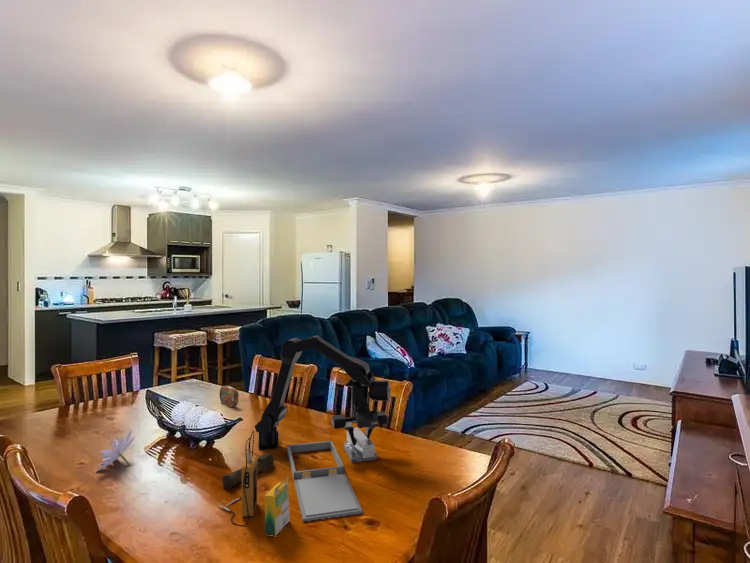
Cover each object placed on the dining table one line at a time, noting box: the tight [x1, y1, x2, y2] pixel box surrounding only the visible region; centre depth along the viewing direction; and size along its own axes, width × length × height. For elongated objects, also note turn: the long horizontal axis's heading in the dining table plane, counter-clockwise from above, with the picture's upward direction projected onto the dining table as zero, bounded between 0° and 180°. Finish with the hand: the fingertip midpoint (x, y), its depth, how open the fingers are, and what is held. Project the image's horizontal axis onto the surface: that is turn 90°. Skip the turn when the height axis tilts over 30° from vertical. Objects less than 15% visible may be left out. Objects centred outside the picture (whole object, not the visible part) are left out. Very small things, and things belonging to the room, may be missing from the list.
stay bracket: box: [343, 441, 378, 463], centre depth 157 cm, size 8×12×2 cm
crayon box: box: [263, 475, 290, 537], centre depth 112 cm, size 7×3×12 cm, turn 163°
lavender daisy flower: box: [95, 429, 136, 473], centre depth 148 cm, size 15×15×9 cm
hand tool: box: [222, 453, 275, 490], centre depth 140 cm, size 19×4×5 cm, turn 145°
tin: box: [219, 385, 239, 408], centre depth 213 cm, size 15×3×8 cm, turn 43°
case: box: [286, 440, 363, 522], centre depth 139 cm, size 15×45×2 cm, turn 16°
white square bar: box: [346, 427, 375, 458], centre depth 157 cm, size 4×16×4 cm, turn 23°
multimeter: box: [218, 430, 258, 526], centre depth 120 cm, size 15×10×20 cm
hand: (359, 444), depth 157 cm, fingers closed on white square bar, 4 cm apart
